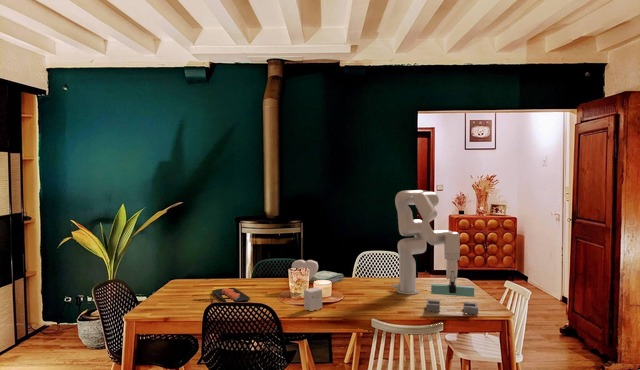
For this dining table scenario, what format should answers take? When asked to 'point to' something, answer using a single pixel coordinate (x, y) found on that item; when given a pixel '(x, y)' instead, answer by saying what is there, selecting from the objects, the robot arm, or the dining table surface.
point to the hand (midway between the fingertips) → (452, 291)
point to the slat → (459, 292)
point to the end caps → (435, 307)
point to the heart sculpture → (307, 266)
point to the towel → (327, 276)
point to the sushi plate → (229, 295)
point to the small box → (313, 299)
